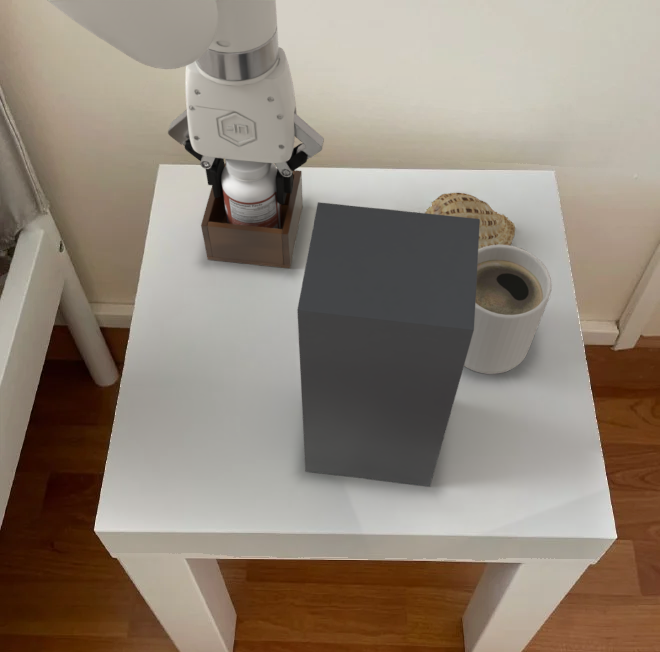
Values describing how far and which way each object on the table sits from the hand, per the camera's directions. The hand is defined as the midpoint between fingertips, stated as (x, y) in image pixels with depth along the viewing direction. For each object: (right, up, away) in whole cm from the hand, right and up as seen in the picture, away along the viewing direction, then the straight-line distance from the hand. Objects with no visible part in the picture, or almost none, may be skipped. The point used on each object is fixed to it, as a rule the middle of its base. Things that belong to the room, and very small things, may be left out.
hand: (251, 190), depth 86 cm
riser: (+13, -26, -7) cm, 30 cm away
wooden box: (0, -3, +6) cm, 7 cm away
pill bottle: (0, -3, +5) cm, 6 cm away
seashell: (+24, -4, +6) cm, 25 cm away
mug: (+24, -16, -1) cm, 29 cm away
